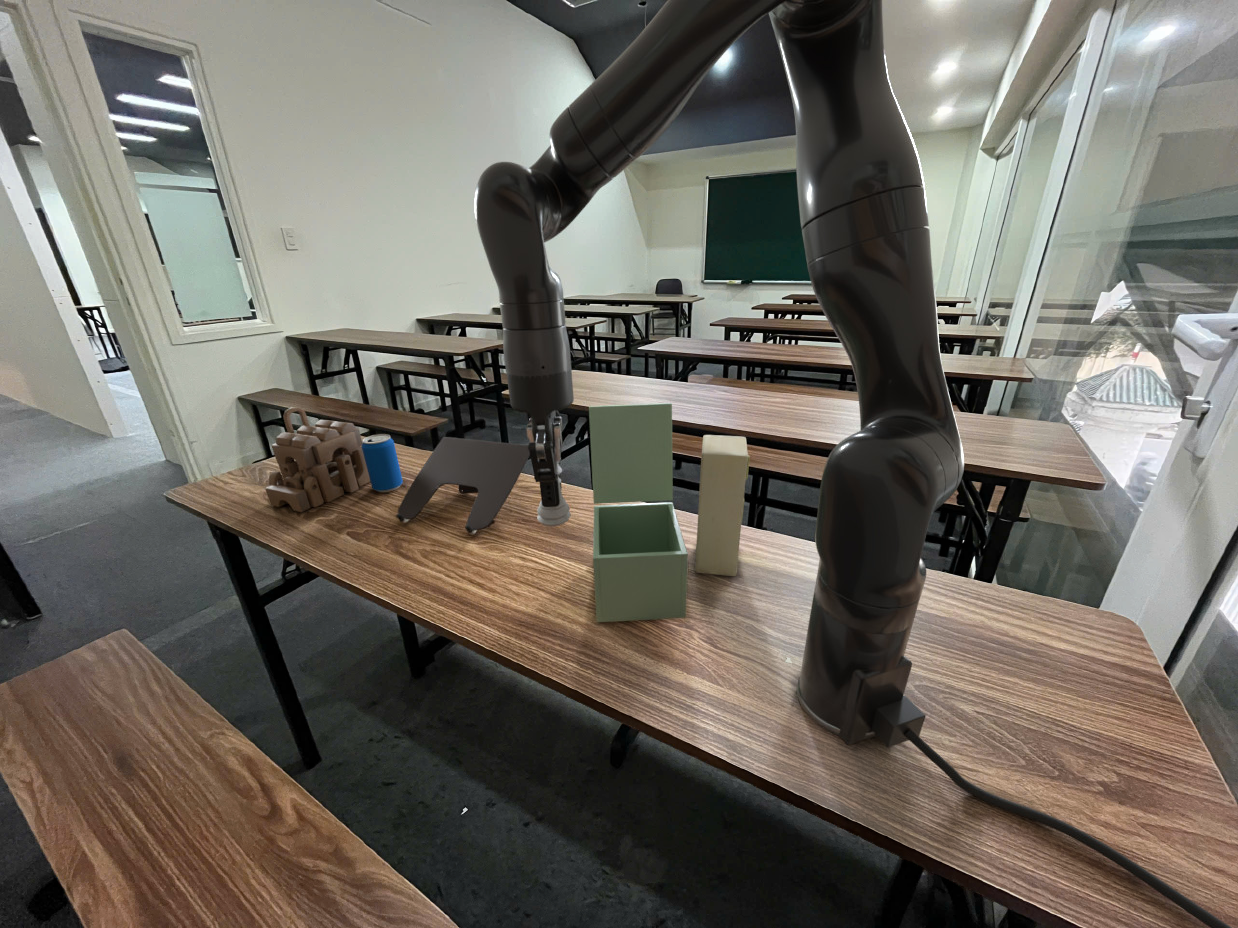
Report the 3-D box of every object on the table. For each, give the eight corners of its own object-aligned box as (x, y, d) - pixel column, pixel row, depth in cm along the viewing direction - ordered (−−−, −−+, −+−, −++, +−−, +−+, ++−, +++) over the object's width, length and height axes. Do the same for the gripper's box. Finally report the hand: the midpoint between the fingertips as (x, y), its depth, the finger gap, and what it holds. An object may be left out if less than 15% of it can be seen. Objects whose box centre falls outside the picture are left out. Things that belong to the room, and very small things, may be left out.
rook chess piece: (575, 523, 62) (570, 466, 59) (542, 530, 61) (535, 473, 58) (565, 508, 66) (560, 454, 63) (534, 515, 65) (527, 460, 61)
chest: (685, 618, 68) (688, 554, 63) (596, 622, 67) (592, 558, 63) (671, 558, 81) (672, 502, 77) (597, 561, 81) (593, 505, 76)
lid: (671, 403, 73) (667, 400, 77) (588, 406, 72) (589, 403, 77) (672, 500, 76) (668, 491, 81) (593, 503, 76) (594, 494, 81)
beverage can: (375, 483, 112) (362, 435, 107) (404, 479, 113) (394, 432, 109) (370, 495, 106) (357, 445, 101) (402, 491, 108) (390, 441, 103)
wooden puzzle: (308, 514, 99) (280, 429, 91) (261, 503, 104) (231, 422, 97) (391, 472, 118) (373, 398, 110) (347, 465, 123) (328, 394, 115)
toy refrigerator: (741, 578, 76) (753, 455, 67) (694, 573, 77) (700, 453, 69) (740, 550, 83) (750, 436, 74) (697, 546, 84) (702, 434, 76)
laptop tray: (404, 539, 100) (381, 514, 93) (456, 457, 114) (439, 430, 107) (501, 556, 93) (483, 531, 86) (543, 466, 107) (531, 438, 100)
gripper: (568, 378, 49) (580, 524, 56) (573, 354, 62) (582, 474, 69) (495, 381, 49) (515, 528, 56) (515, 357, 62) (529, 477, 69)
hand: (552, 497), depth 62 cm, fingers closed on rook chess piece, 3 cm apart
